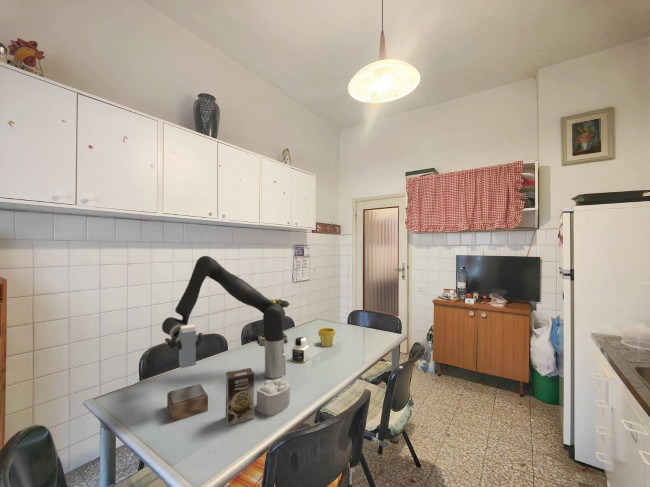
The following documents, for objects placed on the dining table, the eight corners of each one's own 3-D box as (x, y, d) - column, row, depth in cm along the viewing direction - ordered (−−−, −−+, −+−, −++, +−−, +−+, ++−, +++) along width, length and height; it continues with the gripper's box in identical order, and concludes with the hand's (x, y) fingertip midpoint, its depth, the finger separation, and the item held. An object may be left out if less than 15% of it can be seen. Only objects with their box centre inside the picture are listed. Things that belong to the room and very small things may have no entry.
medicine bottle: (292, 361, 153) (292, 339, 153) (298, 356, 159) (298, 335, 160) (303, 363, 150) (303, 340, 150) (309, 358, 157) (309, 336, 157)
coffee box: (227, 426, 96) (227, 378, 96) (225, 416, 101) (225, 371, 102) (254, 419, 100) (254, 373, 100) (250, 410, 106) (250, 366, 106)
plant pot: (316, 343, 182) (316, 328, 183) (331, 341, 185) (331, 327, 186) (321, 348, 172) (321, 332, 173) (337, 346, 175) (336, 331, 176)
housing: (192, 360, 111) (193, 324, 111) (195, 365, 107) (196, 326, 107) (178, 363, 108) (179, 326, 108) (181, 368, 104) (181, 329, 104)
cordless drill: (261, 347, 176) (261, 303, 177) (256, 338, 194) (256, 298, 195) (290, 343, 184) (289, 300, 185) (282, 335, 201) (282, 296, 202)
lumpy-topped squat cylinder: (253, 408, 107) (253, 385, 107) (278, 394, 117) (278, 373, 118) (271, 417, 101) (271, 393, 101) (296, 402, 111) (296, 380, 111)
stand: (200, 397, 115) (200, 382, 115) (207, 410, 106) (207, 394, 106) (167, 407, 108) (167, 391, 108) (172, 422, 99) (172, 404, 99)
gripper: (161, 328, 115) (167, 338, 101) (199, 323, 124) (209, 332, 110) (161, 347, 115) (167, 359, 101) (198, 340, 123) (208, 351, 110)
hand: (189, 345), depth 106 cm, fingers closed on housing, 5 cm apart
